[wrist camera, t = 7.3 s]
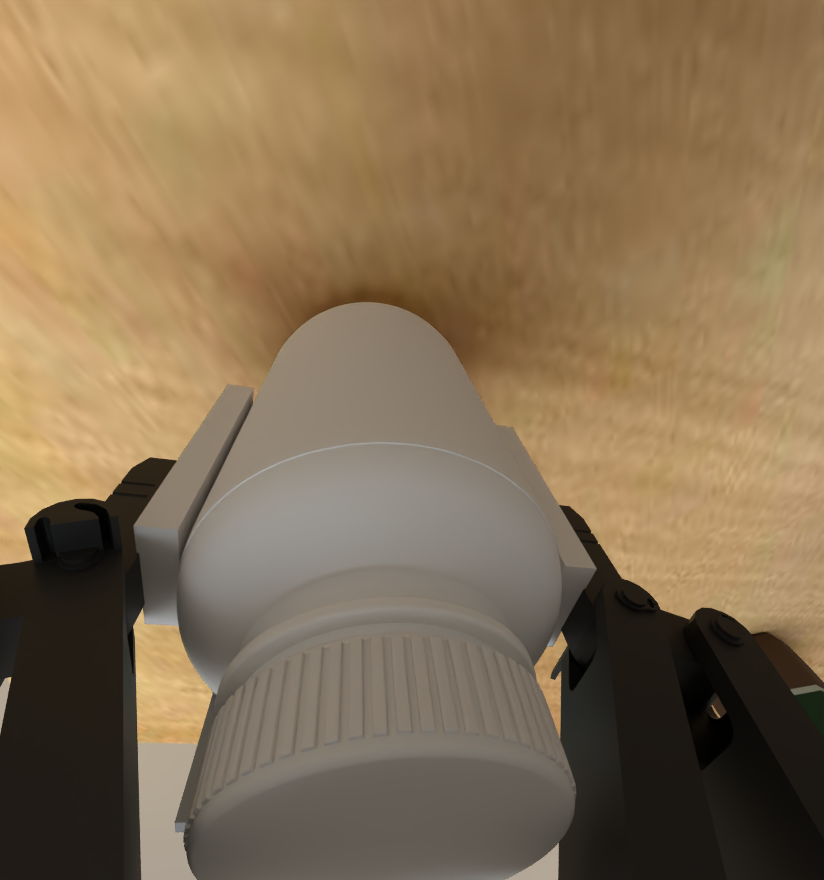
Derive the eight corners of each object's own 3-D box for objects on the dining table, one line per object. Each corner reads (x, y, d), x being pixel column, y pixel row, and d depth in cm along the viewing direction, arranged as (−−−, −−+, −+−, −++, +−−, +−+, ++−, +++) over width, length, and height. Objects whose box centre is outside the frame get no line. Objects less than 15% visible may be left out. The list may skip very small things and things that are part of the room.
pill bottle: (479, 443, 21) (671, 886, 8) (315, 489, 21) (235, 979, 8) (440, 269, 17) (700, 581, 4) (237, 331, 17) (-163, 801, 4)
